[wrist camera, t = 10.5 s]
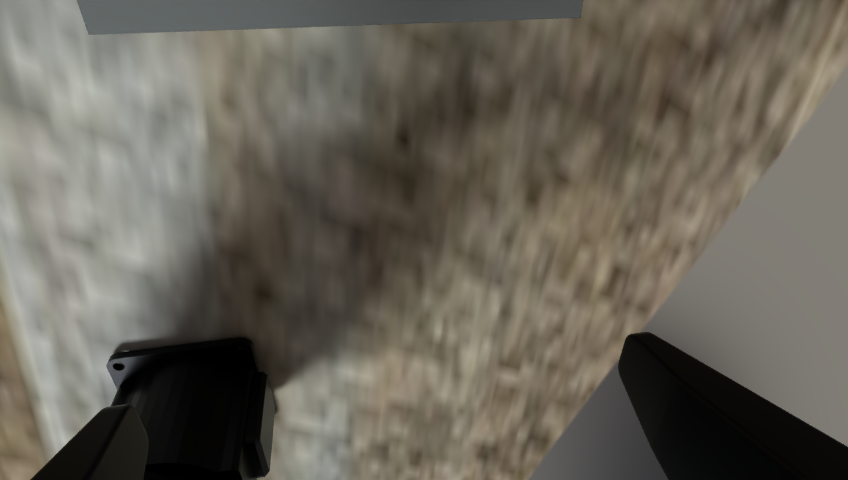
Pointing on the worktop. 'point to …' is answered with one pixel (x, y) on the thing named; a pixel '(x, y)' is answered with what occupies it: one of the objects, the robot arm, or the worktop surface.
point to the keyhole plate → (304, 13)
